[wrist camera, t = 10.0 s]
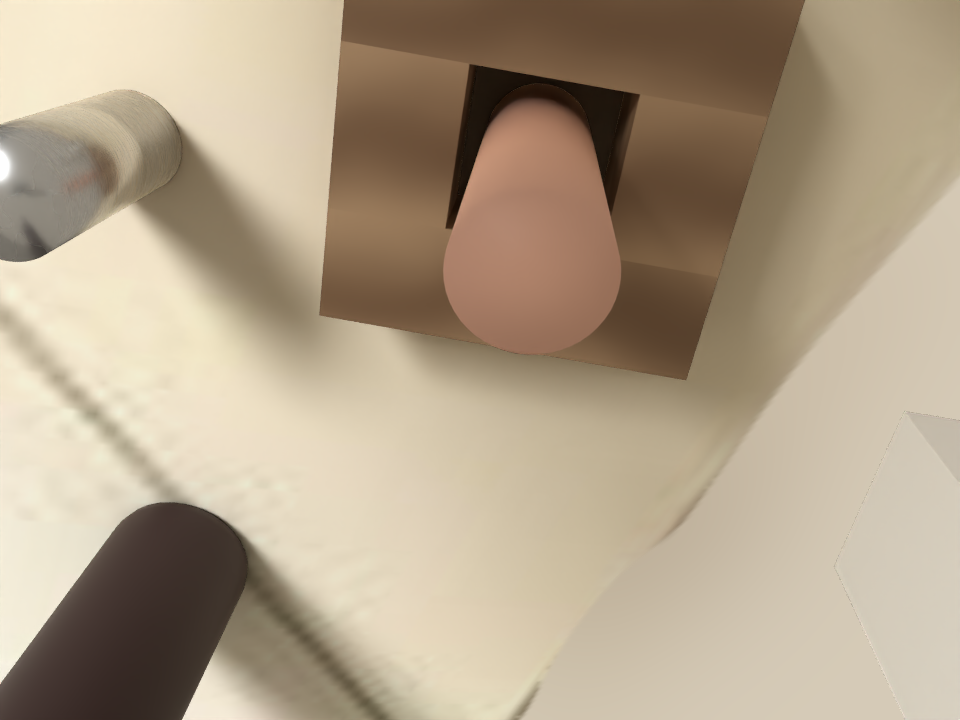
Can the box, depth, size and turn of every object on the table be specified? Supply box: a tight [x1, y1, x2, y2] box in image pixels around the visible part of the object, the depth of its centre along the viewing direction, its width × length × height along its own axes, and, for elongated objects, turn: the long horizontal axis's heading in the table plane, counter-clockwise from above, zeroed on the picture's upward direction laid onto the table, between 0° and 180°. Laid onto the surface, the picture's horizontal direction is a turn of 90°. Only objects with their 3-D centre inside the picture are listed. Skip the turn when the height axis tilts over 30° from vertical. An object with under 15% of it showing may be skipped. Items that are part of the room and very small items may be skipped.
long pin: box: [443, 83, 621, 355], centre depth 25 cm, size 4×4×15 cm
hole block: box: [320, 0, 805, 380], centre depth 30 cm, size 14×14×4 cm
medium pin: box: [0, 90, 182, 262], centre depth 29 cm, size 4×4×9 cm
